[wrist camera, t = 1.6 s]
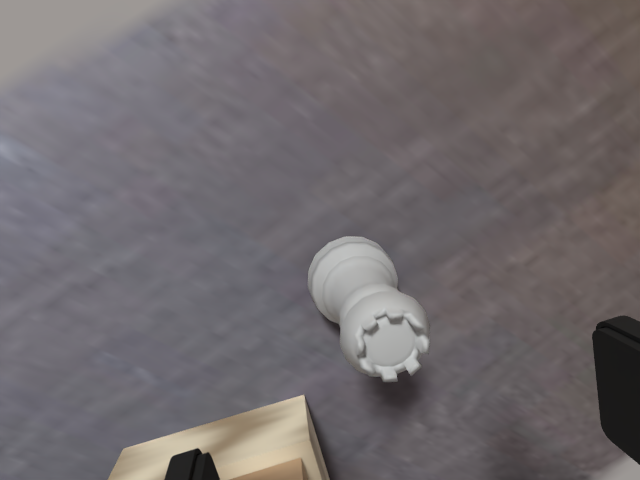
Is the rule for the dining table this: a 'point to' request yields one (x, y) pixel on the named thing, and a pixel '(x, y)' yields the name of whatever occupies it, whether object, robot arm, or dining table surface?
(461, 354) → the dining table surface
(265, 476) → the tan top block
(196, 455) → the robot arm
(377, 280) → the rook chess piece
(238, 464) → the beech base block
